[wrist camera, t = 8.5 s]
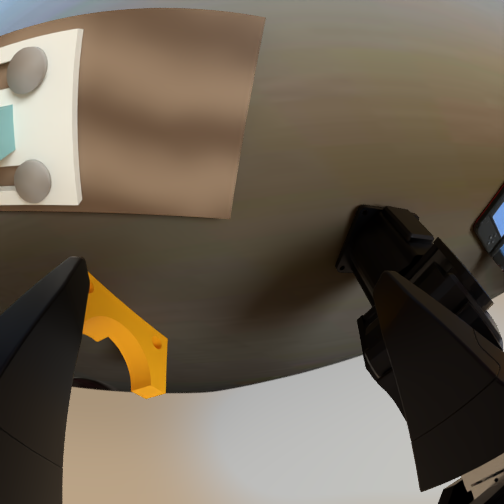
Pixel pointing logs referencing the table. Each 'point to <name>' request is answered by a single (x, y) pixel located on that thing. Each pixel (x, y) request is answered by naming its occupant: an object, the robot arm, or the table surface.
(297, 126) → the table surface
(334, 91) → the table surface
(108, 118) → the boss board
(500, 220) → the handheld game console
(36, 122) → the keyhole panel
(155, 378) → the pipe clamp
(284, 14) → the table surface
